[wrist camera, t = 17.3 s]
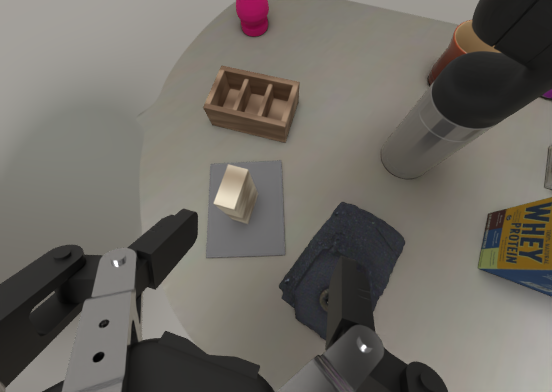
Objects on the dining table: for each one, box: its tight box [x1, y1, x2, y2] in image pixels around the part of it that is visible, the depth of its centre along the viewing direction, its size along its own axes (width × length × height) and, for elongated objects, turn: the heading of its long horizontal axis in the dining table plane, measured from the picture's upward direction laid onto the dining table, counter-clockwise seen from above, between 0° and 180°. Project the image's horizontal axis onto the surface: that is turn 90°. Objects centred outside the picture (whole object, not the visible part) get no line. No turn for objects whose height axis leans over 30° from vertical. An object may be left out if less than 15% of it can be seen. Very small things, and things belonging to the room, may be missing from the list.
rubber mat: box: [206, 160, 285, 258], centre depth 45 cm, size 18×14×1 cm
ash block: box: [213, 164, 258, 224], centre depth 39 cm, size 6×3×12 cm, turn 163°
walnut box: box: [203, 66, 300, 142], centre depth 48 cm, size 10×16×6 cm, turn 73°
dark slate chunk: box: [279, 202, 405, 340], centre depth 40 cm, size 15×22×5 cm
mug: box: [428, 20, 501, 85], centre depth 46 cm, size 12×9×10 cm
